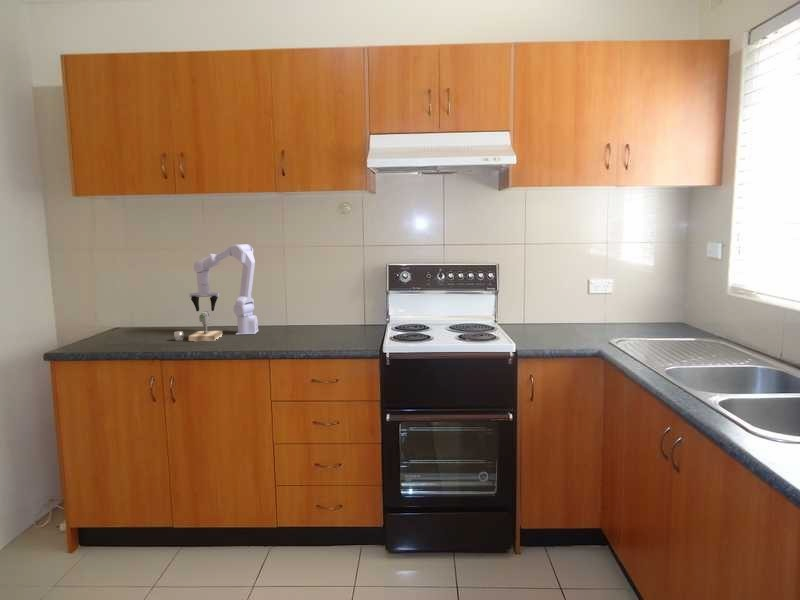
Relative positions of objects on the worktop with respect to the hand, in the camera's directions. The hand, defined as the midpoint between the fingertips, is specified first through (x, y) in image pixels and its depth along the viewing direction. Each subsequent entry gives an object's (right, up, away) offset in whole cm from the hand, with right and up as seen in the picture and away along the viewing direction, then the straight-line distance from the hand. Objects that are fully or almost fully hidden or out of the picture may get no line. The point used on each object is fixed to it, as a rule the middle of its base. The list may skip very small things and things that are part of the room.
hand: (205, 310), depth 279 cm
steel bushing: (-6, -14, -19) cm, 24 cm away
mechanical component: (+6, -11, -18) cm, 21 cm away
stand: (+6, -13, -17) cm, 22 cm away
